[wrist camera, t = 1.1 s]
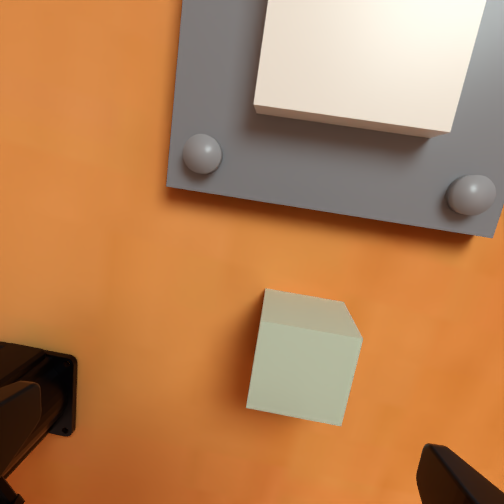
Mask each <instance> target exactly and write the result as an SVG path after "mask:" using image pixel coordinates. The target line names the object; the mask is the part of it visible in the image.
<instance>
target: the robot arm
mask: <svg viewBox="0 0 504 504" xmlns="http://www.w3.org/2000/svg"><path fill="white" fill-rule="evenodd" d="M67 361H68V362H69V363H70V364H68V362H67ZM76 385H77V360H76V358H75V357H74V356H72V355H68V354H63V353H58V352H52V351H47V350H43V349H39V348H34V347H29V346H24V345H18V344H13V343H5V342H0V504H24V502H25V501H24V499H23V498H22V497H21V496H20V494H16V493H15V491H14V490H13V489H12V487H11V486H10V485H9V484H8V482H7V481H6V480H5V479H6V478H7V477H8V476H9V475H10V474H11V473H12V472H13V471H14V470H15V469H16V468H17V466H18V465H19V464H20V463H21V462H22V461H23V460H24V459H25V458H26V457H27V456H28V455H29V454H30V452H31V451H32V450H33V449H34V448H35V447H36V446H37V445H38V444H39V443H40V442H41V441H42V440H43V438H44V437H45V436H46V435H47V434H48V433H51V434H56V435H61V436H70V435H71V434H72V433H73V431H74V430H75V417H76ZM416 481H417V486H418V490H419V494H420V497H421V501H422V504H504V493H503V492H502V491H501V490H499V489H498V488H497V487H496V486H495V485H493V484H492V483H491V482H490V481H488V480H487V479H486V478H485V477H483V476H482V475H481V474H480V473H479V472H477V471H476V470H475V469H474V468H472V467H471V466H470V465H469V464H467V463H466V462H465V461H464V460H463V459H461V458H460V457H459V456H458V455H456V454H455V453H454V452H453V451H451V450H450V449H449V448H448V447H446V446H443V445H437V444H430V443H428V444H426V445H425V446H424V447H423V450H422V454H421V458H420V462H419V465H418V469H417V474H416Z"/></svg>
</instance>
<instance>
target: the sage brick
mask: <svg viewBox="0 0 504 504" xmlns="http://www.w3.org/2000/svg"><path fill="white" fill-rule="evenodd" d="M362 341H363V338H362V336H361V334H360V332H359V330H358V328H357V327H356V325H355V323H354V321H353V319H352V317H351V315H350V313H349V311H348V309H347V307H346V305H345V304H344V302H341V301H335V300H329V299H324V298H318V297H312V296H306V295H301V294H295V293H289V292H283V291H278V290H272V289H265V295H264V301H263V306H262V312H261V318H260V324H259V330H258V336H257V342H256V348H255V354H254V360H253V366H252V373H251V379H250V385H249V392H248V398H247V405H246V408H249V409H255V410H260V411H265V412H270V413H275V414H280V415H285V416H291V417H296V418H301V419H306V420H311V421H316V422H321V423H327V424H332V425H337V426H341V425H342V421H343V417H344V413H345V409H346V405H347V401H348V397H349V393H350V389H351V385H352V381H353V377H354V373H355V369H356V365H357V361H358V357H359V353H360V349H361V345H362Z"/></svg>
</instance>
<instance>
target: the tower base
mask: <svg viewBox="0 0 504 504" xmlns="http://www.w3.org/2000/svg"><path fill="white" fill-rule="evenodd" d="M166 186H167V187H173V188H179V189H186V190H192V191H198V192H205V193H211V194H217V195H224V196H230V197H236V198H243V199H249V200H255V201H261V202H268V203H274V204H280V205H287V206H293V207H299V208H306V209H312V210H318V211H324V212H331V213H337V214H343V215H350V216H356V217H362V218H369V219H375V220H381V221H388V222H394V223H400V224H406V225H413V226H419V227H425V228H432V229H438V230H444V231H451V232H457V233H463V234H469V235H476V236H482V237H488V238H493V235H494V232H495V229H496V226H497V223H498V220H499V217H500V214H501V211H502V208H503V205H504V0H183V3H182V14H181V25H180V37H179V48H178V59H177V70H176V82H175V93H174V104H173V116H172V127H171V138H170V150H169V161H168V172H167V184H166Z"/></svg>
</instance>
